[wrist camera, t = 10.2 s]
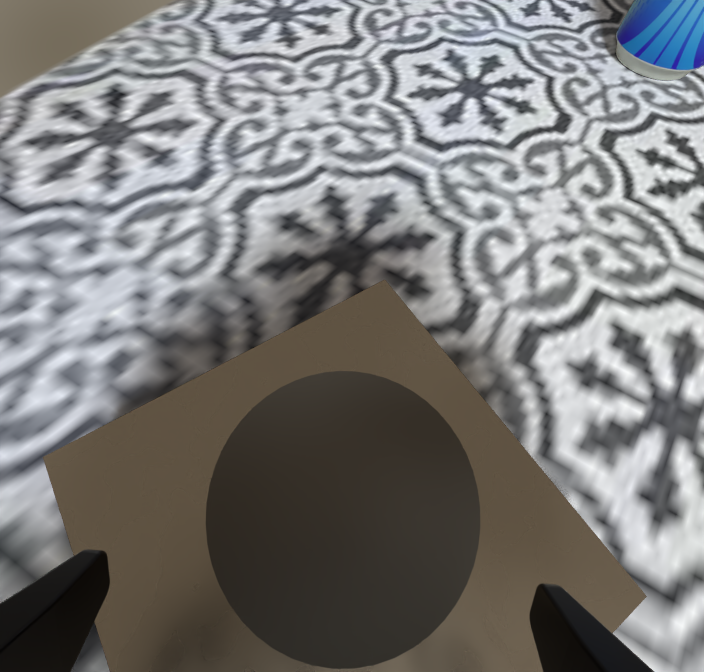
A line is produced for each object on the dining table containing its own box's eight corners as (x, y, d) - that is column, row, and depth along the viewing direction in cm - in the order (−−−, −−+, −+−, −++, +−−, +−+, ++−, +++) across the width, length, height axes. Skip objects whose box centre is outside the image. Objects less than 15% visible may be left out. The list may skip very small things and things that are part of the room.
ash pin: (402, 547, 18) (537, 539, 7) (314, 615, 17) (294, 755, 5) (347, 458, 20) (378, 332, 8) (262, 514, 18) (161, 454, 7)
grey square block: (582, 587, 18) (646, 596, 14) (254, 911, 13) (228, 1046, 9) (375, 320, 24) (384, 279, 20) (95, 474, 19) (42, 457, 15)
